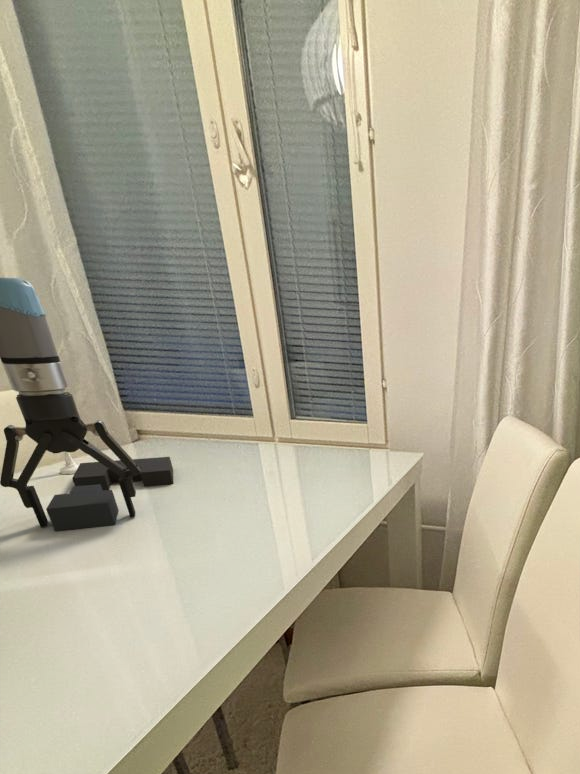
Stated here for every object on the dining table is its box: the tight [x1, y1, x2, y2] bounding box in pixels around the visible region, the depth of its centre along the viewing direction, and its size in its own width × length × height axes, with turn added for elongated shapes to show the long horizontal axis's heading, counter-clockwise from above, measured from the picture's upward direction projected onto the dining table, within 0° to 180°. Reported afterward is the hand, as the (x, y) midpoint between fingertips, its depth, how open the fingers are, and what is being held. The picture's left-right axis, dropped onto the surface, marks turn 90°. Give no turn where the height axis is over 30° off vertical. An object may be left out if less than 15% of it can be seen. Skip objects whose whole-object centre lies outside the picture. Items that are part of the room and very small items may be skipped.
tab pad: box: [46, 484, 119, 532], centre depth 100 cm, size 9×14×4 cm, turn 26°
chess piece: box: [59, 452, 79, 475], centre depth 125 cm, size 5×5×10 cm
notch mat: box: [71, 456, 174, 490], centre depth 122 cm, size 18×14×3 cm
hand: (90, 519), depth 99 cm, fingers open, 13 cm apart
